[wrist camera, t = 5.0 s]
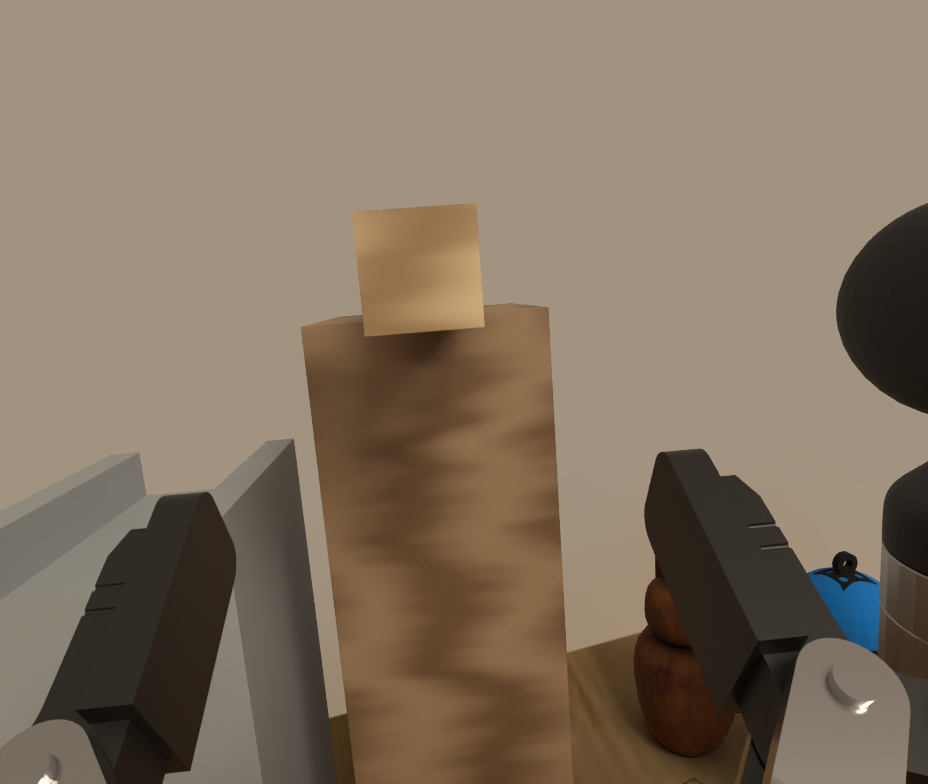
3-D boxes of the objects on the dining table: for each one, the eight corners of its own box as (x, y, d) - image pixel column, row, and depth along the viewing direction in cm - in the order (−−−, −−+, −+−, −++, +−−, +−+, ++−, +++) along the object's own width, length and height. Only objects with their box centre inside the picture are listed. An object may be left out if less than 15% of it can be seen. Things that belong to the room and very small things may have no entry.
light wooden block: (469, 306, 35) (464, 235, 34) (524, 323, 15) (514, 157, 15) (382, 313, 35) (375, 241, 34) (324, 339, 15) (304, 171, 14)
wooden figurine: (624, 707, 45) (617, 513, 42) (699, 696, 45) (697, 504, 43) (663, 780, 38) (658, 553, 35) (751, 766, 38) (752, 542, 36)
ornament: (840, 727, 41) (844, 589, 39) (754, 655, 49) (754, 539, 48) (943, 700, 43) (951, 567, 41) (843, 635, 51) (846, 523, 49)
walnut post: (539, 756, 40) (511, 303, 36) (581, 925, 30) (548, 307, 25) (389, 773, 40) (339, 316, 35) (375, 952, 29) (300, 327, 24)
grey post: (339, 804, 38) (293, 438, 34) (300, 1035, 26) (222, 515, 22) (176, 823, 37) (111, 454, 34) (61, 1067, 26) (-60, 542, 22)
